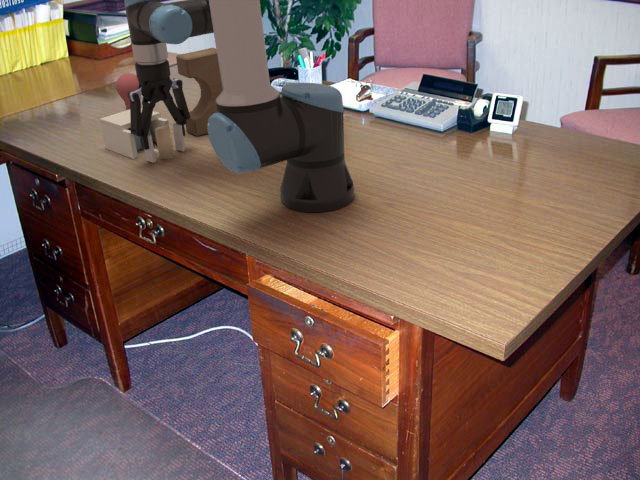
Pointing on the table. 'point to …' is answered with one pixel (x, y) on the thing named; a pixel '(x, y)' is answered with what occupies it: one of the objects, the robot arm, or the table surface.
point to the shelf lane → (126, 132)
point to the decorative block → (201, 86)
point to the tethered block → (160, 142)
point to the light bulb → (127, 87)
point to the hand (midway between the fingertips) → (166, 155)
